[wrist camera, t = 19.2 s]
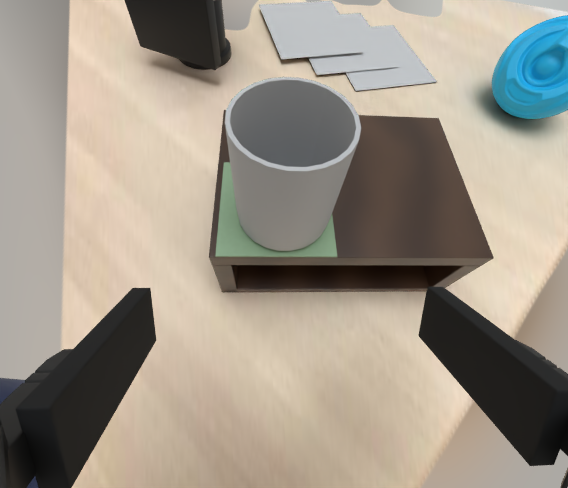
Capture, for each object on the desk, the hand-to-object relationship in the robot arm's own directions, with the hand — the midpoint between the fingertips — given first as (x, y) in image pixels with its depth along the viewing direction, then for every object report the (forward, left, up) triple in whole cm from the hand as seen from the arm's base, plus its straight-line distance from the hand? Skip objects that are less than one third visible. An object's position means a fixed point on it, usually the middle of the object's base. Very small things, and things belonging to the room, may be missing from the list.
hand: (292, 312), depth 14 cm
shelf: (+6, +14, -14) cm, 20 cm away
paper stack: (+12, +50, -14) cm, 53 cm away
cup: (0, +11, -6) cm, 12 cm away
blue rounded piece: (+37, +35, -14) cm, 52 cm away
